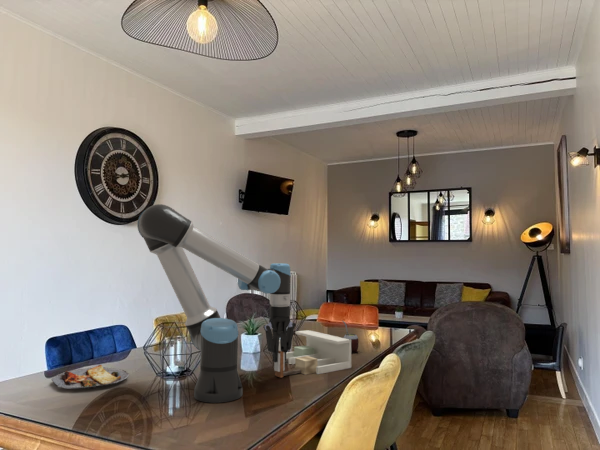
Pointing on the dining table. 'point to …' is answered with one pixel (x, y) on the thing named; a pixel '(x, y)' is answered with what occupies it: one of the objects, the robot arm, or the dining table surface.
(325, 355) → the lane rack
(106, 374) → the food plate
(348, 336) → the mate gourd
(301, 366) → the birch block
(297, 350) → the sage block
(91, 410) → the dining table surface
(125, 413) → the dining table surface
